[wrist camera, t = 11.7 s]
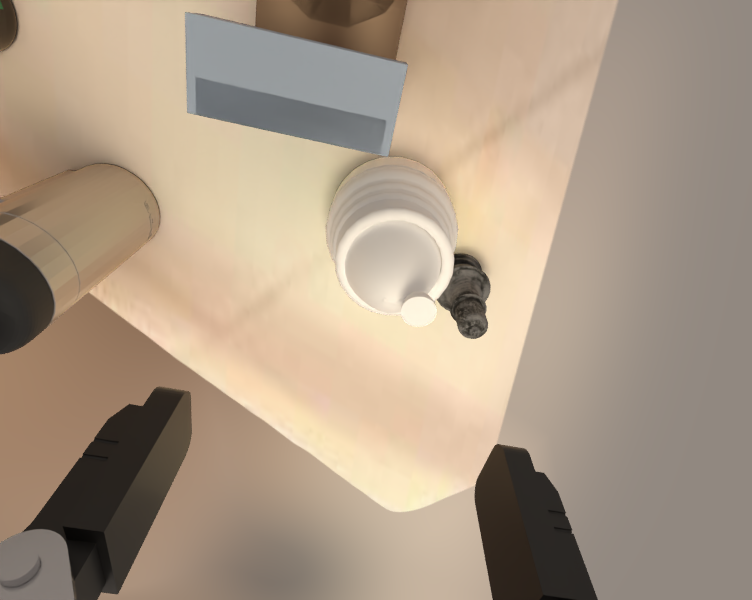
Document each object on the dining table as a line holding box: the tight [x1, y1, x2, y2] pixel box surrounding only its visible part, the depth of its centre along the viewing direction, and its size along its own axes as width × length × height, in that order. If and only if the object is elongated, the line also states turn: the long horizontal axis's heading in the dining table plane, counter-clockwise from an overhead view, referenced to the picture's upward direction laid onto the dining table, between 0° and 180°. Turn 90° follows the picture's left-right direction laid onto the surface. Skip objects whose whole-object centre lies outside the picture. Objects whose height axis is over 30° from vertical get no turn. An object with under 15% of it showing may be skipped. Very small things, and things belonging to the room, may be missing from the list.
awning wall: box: [185, 12, 408, 157], centre depth 32 cm, size 12×5×17 cm, turn 78°
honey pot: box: [326, 157, 458, 327], centre depth 38 cm, size 13×13×18 cm
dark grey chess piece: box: [437, 254, 490, 339], centre depth 44 cm, size 6×6×12 cm
